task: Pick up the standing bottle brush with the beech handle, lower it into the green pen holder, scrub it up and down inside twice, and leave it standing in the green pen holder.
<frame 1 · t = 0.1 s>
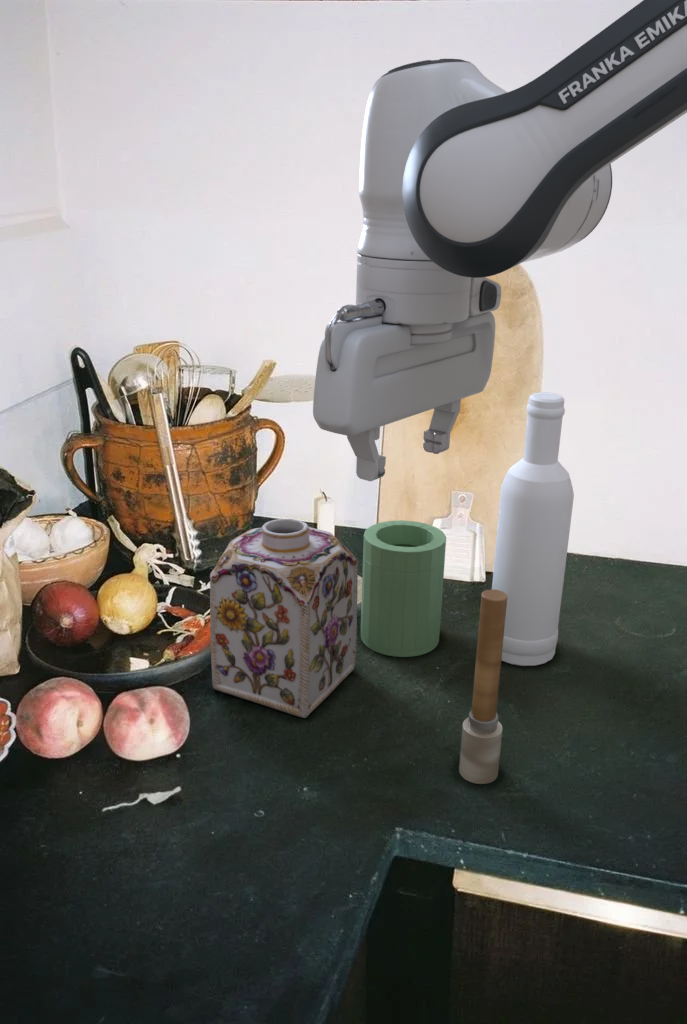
hand: (404, 464, 77), 29 cm above the worktop, tool pointing down, fingers open, 8 cm apart
brush: (478, 772, 87), on the worktop
bottle: (520, 651, 108), on the worktop
green pen holder: (399, 637, 110), on the worktop
decorative jar: (285, 681, 101), on the worktop
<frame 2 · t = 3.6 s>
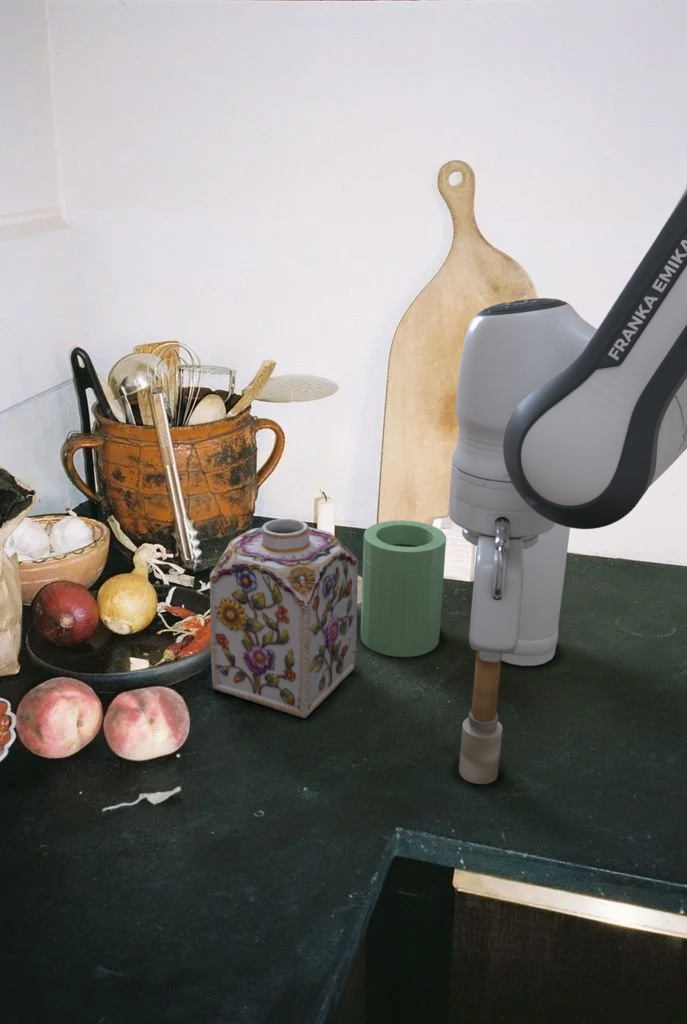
hand: (489, 647, 82), 13 cm above the worktop, tool pointing down, fingers closed on brush, 2 cm apart
brush: (478, 772, 86), on the worktop, touching gripper
everything else where it was.
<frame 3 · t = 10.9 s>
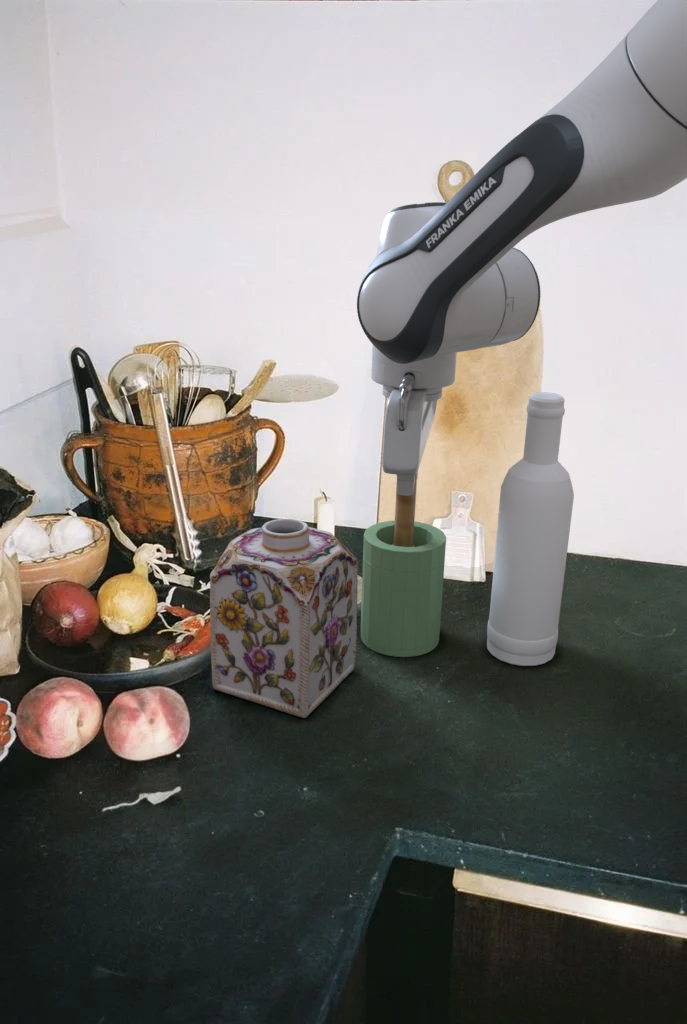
hand: (407, 488, 103), 19 cm above the worktop, tool pointing down, fingers closed on brush, 2 cm apart
brush: (400, 594, 108), point 6 cm above the worktop, touching gripper
everything else where it was.
when the fingers open (14 cm above the worktop, at t = 18.7 s): brush stays where it is, resting on green pen holder.
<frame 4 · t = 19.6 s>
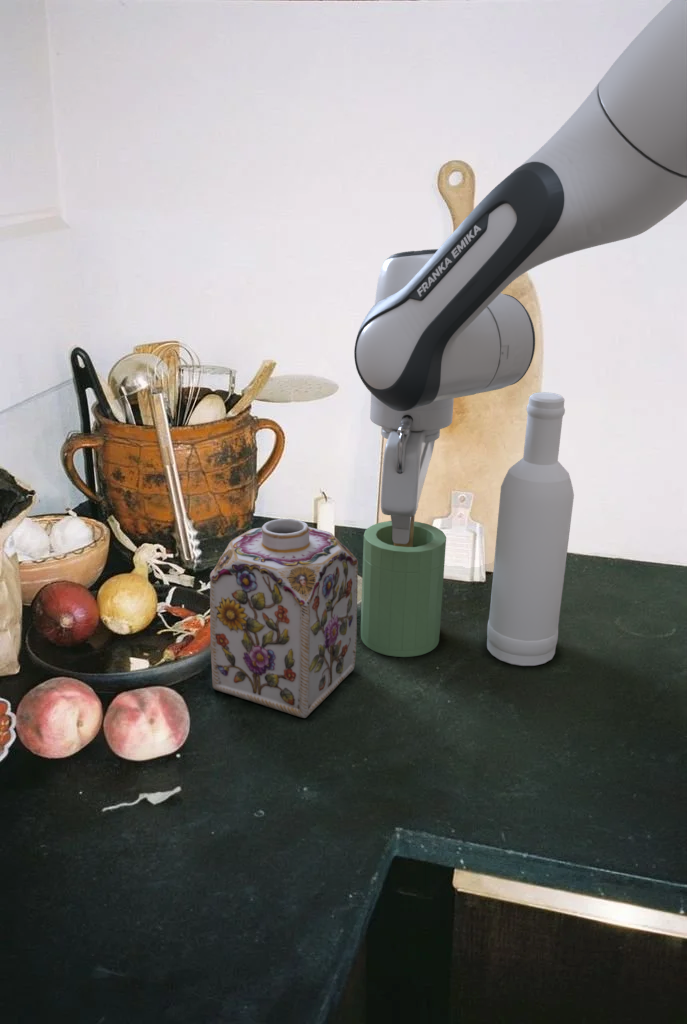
hand: (405, 525, 105), 14 cm above the worktop, tool pointing down, fingers open, 8 cm apart
brush: (398, 631, 110), point 1 cm above the worktop, touching green pen holder
everything else where it was.
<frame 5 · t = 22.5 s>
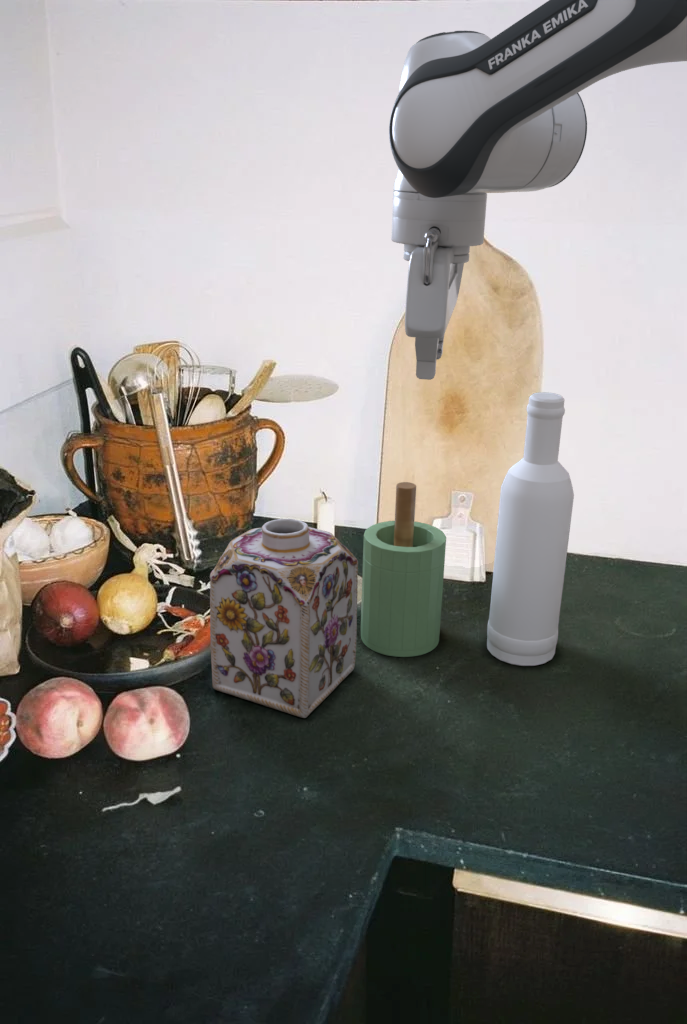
hand: (429, 367, 94), 33 cm above the worktop, tool pointing down, fingers open, 8 cm apart
nothing on the worktop moved.
at the end: brush 0.1 cm off-centre in the green pen holder, point 0.8 cm above the green pen holder's base; the gripper is holding nothing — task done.
